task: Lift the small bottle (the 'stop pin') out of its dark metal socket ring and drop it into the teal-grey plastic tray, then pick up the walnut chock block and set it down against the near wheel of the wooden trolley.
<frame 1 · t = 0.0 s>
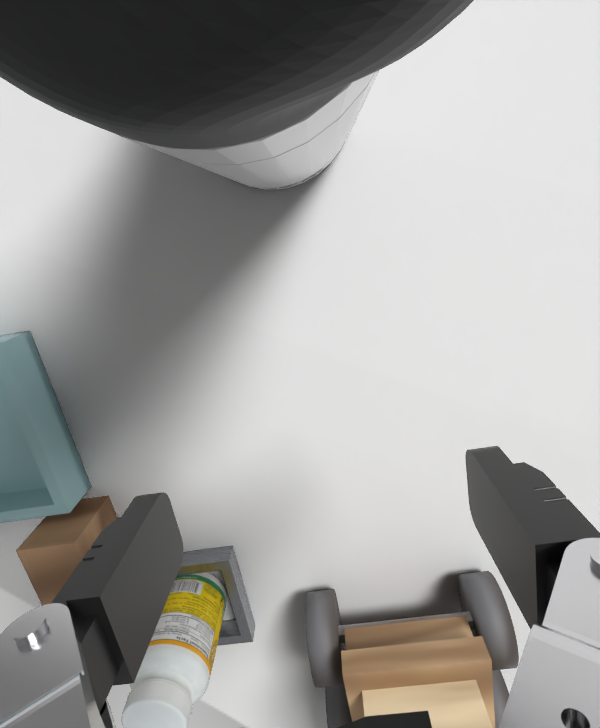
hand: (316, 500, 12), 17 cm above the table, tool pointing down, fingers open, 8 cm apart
chock: (94, 525, 33), on the table
pin socket: (194, 592, 35), on the table
trolley: (402, 635, 36), on the table
supplement bottle: (195, 590, 35), resting in pin socket
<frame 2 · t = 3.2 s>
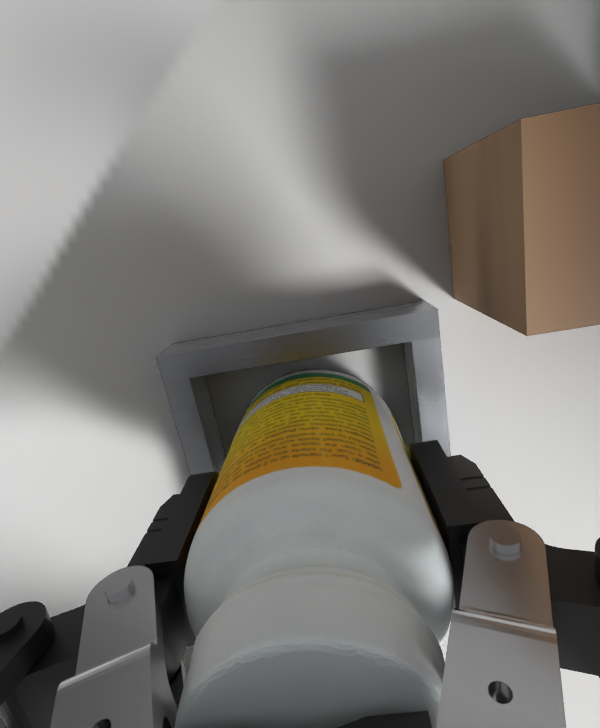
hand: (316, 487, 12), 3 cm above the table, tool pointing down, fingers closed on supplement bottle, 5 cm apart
chock: (534, 216, 13), on the table
pin socket: (316, 437, 15), on the table
supplement bottle: (316, 434, 15), resting in pin socket, touching gripper
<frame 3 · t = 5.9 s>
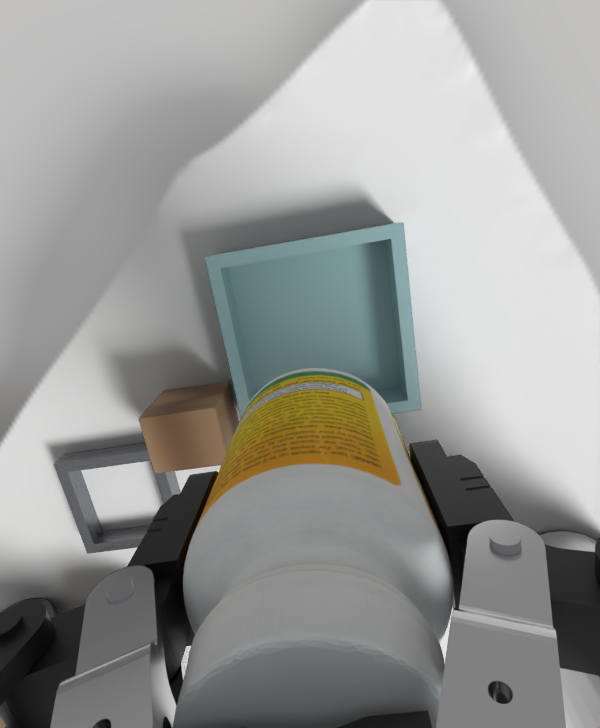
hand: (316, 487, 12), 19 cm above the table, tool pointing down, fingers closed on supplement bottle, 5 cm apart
chock: (202, 410, 33), on the table
pin socket: (129, 492, 35), on the table
tray: (317, 326, 31), on the table
supplement bottle: (316, 433, 15), point 16 cm above the table, touching gripper
when the fingers open (6 cm above the table, at t = 8.5 s): supplement bottle drops 2 cm, resting on tray.
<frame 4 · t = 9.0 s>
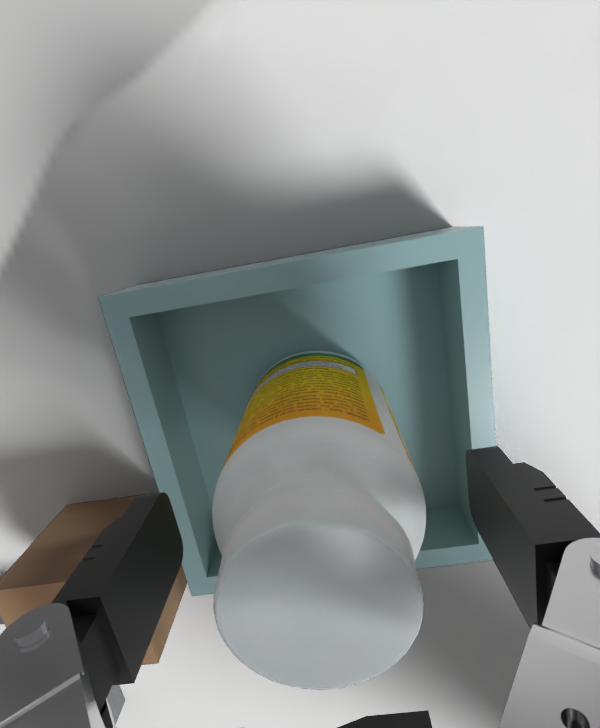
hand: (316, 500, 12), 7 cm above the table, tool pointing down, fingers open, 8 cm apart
chock: (131, 533, 20), on the table
pin socket: (26, 650, 23), on the table
tray: (316, 404, 18), on the table
supplement bottle: (316, 408, 18), resting on tray
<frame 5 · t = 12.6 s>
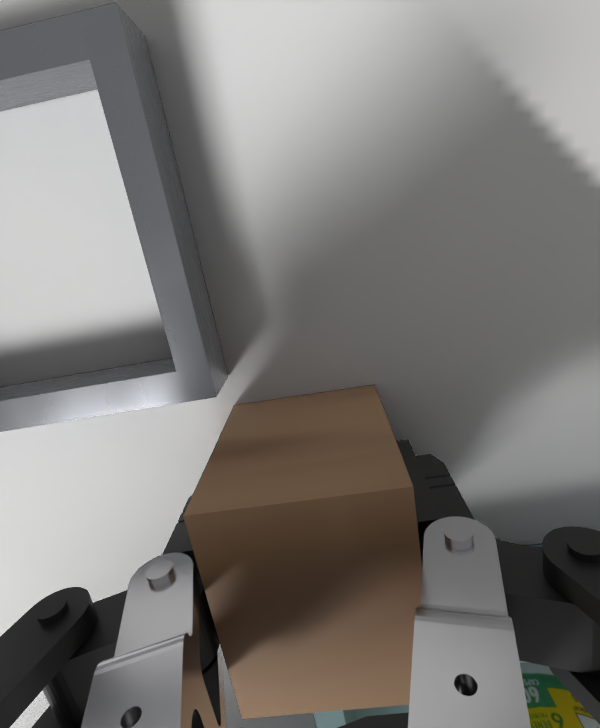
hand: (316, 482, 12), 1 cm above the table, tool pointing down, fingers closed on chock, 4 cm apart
chock: (317, 472, 13), on the table, touching gripper
pin socket: (38, 254, 11), on the table
tray: (503, 691, 15), on the table
supplement bottle: (508, 703, 15), resting on tray
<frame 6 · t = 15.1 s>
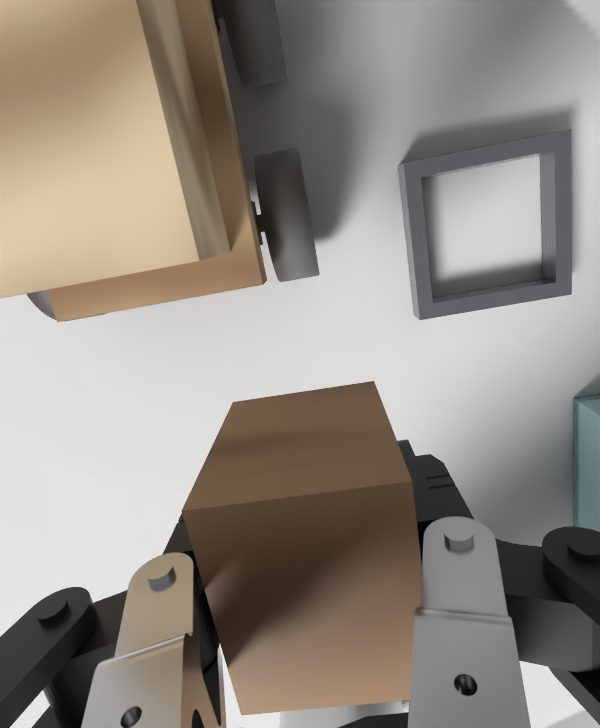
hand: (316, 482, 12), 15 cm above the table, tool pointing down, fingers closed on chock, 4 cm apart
chock: (316, 469, 13), point 14 cm above the table, touching gripper
pin socket: (480, 230, 24), on the table
trolley: (172, 153, 24), on the table
when the fingers open (2 cm above the table, at t = 17.7 s): chock drops 2 cm, on the table.
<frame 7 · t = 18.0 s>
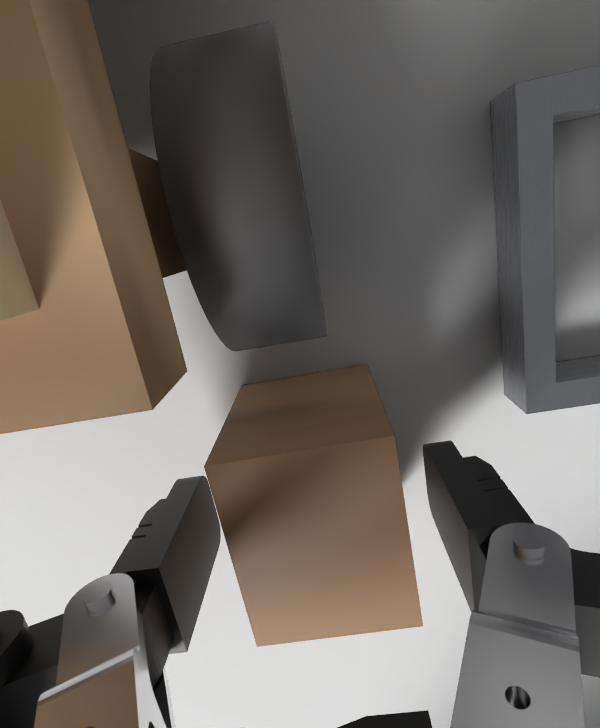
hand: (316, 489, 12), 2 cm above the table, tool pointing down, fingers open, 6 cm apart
chock: (317, 444, 14), on the table
trolley: (21, 74, 11), on the table
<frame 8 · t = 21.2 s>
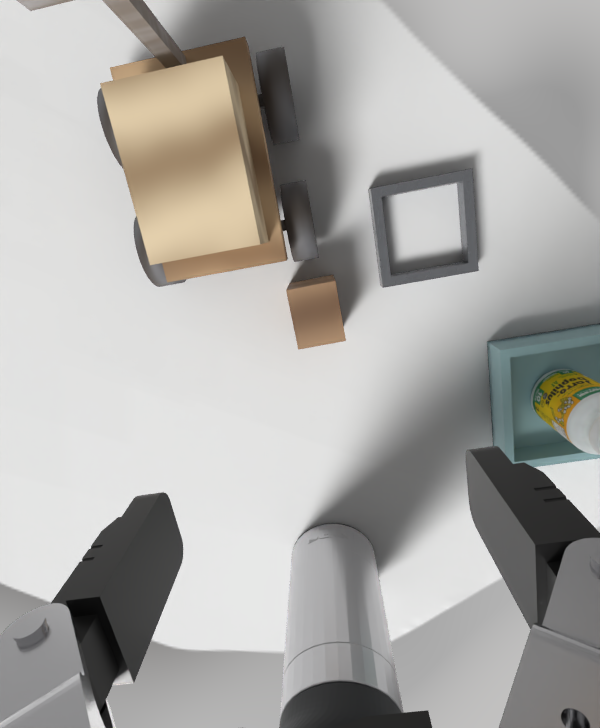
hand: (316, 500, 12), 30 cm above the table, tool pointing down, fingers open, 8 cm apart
chock: (316, 305, 40), on the table
pin socket: (421, 230, 38), on the table
tray: (554, 391, 42), on the table
trolley: (225, 181, 37), on the table
supplement bottle: (556, 393, 42), resting on tray
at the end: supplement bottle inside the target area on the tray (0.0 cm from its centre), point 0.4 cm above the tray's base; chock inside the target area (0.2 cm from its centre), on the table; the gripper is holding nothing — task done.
